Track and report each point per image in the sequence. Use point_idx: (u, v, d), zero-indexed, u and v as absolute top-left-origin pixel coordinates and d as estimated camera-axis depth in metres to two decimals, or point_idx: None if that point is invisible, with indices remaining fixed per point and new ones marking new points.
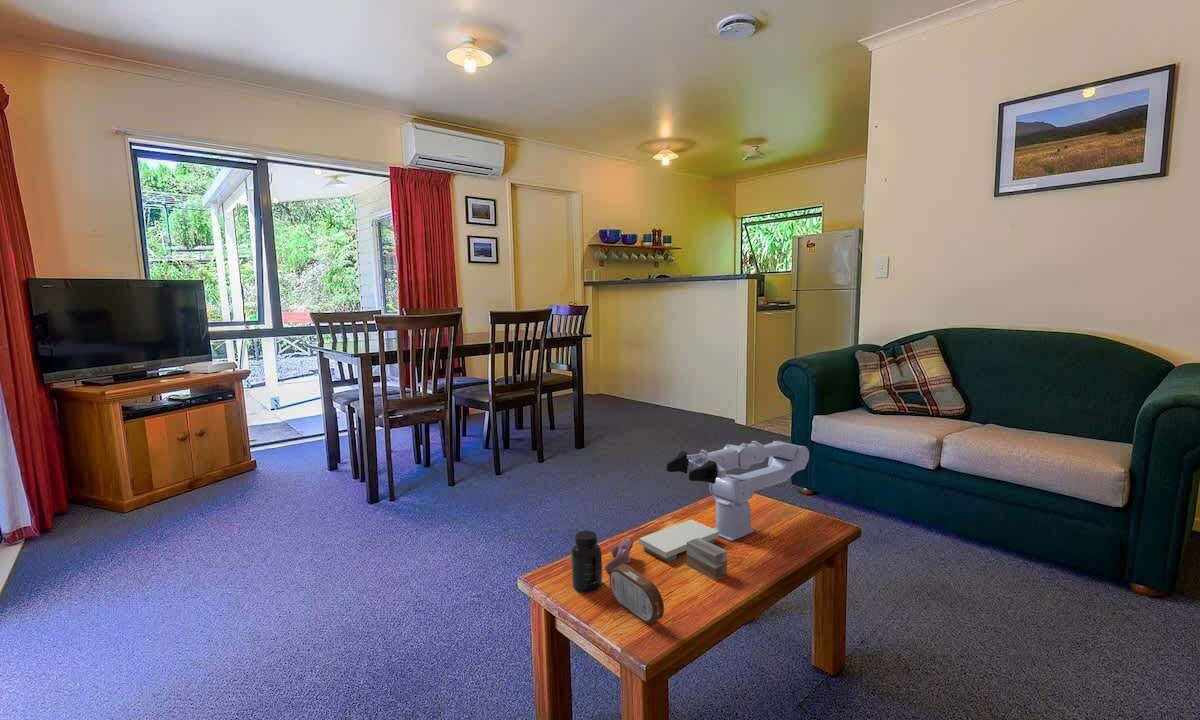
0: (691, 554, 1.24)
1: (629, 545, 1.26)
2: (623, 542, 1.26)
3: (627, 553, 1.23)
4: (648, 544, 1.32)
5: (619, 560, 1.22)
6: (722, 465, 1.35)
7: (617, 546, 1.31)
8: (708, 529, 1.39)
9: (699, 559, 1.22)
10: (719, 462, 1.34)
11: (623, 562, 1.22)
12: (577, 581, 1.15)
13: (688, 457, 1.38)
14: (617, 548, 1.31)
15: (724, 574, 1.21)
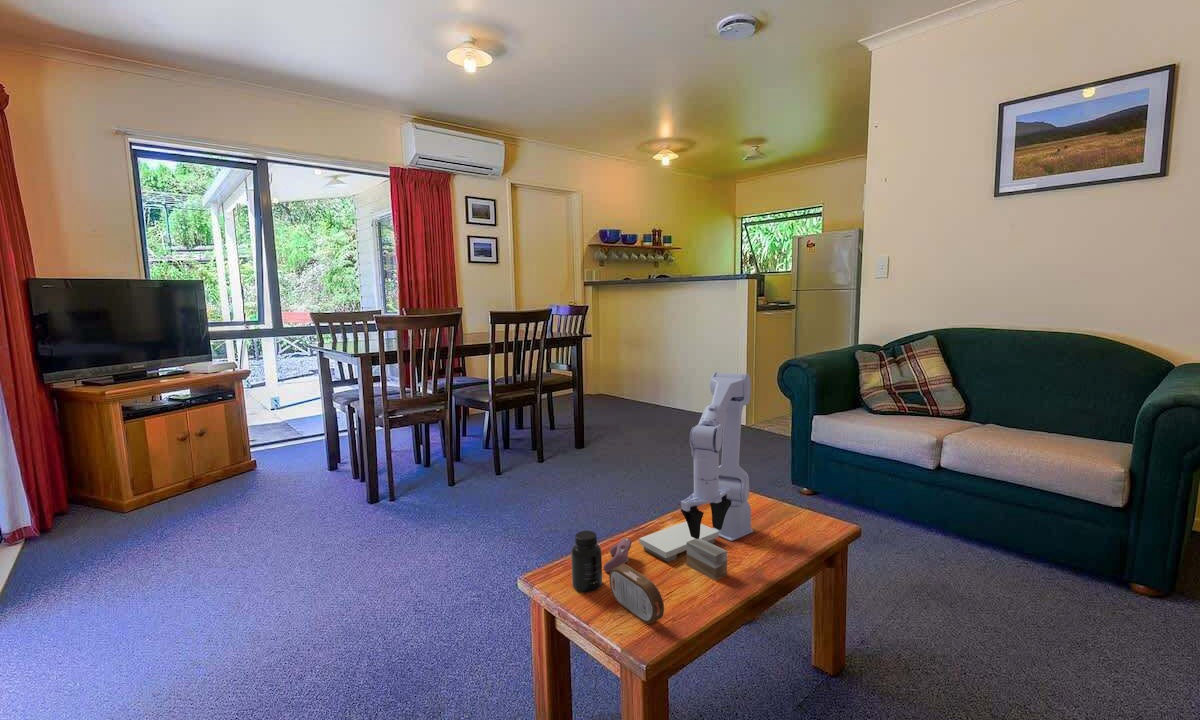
0: (691, 554, 1.24)
1: (627, 545, 1.26)
2: (621, 542, 1.27)
3: (625, 553, 1.23)
4: (648, 544, 1.32)
5: (617, 560, 1.23)
6: None
7: (616, 546, 1.31)
8: (708, 529, 1.39)
9: (699, 559, 1.22)
10: None
11: (621, 562, 1.22)
12: (577, 581, 1.15)
13: None
14: (616, 548, 1.31)
15: (724, 574, 1.21)
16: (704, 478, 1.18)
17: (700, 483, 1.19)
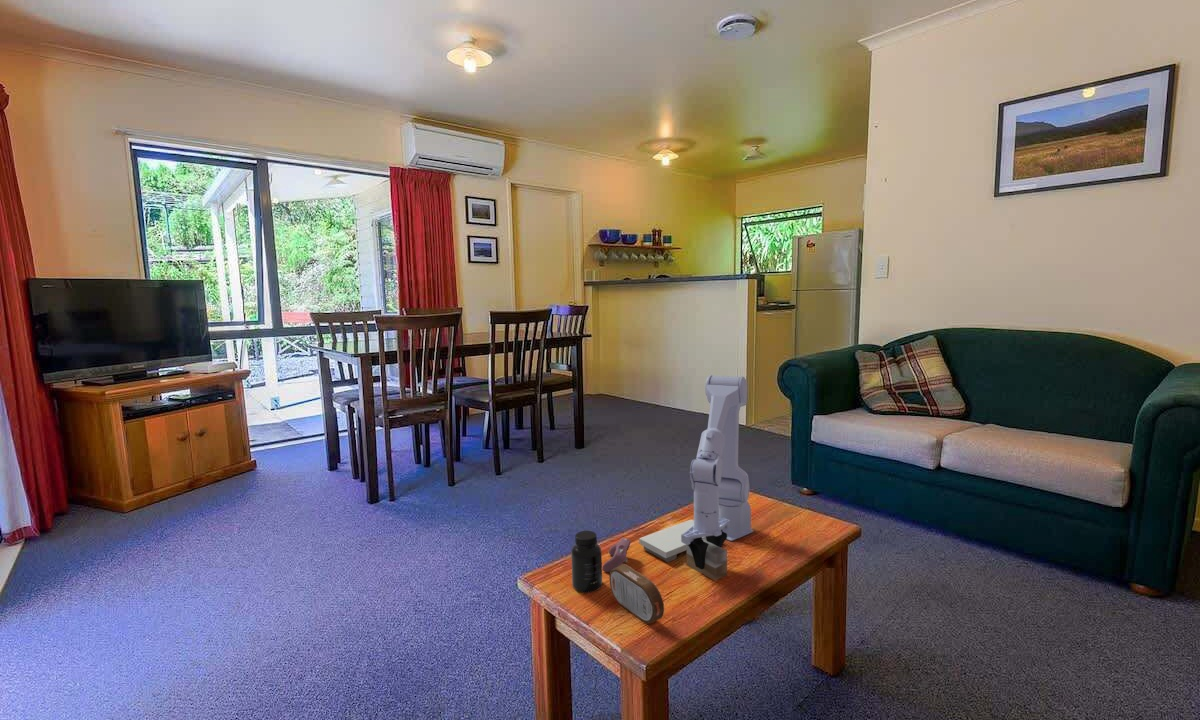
0: (691, 554, 1.24)
1: (626, 545, 1.26)
2: (620, 542, 1.27)
3: (624, 553, 1.23)
4: (648, 544, 1.32)
5: (616, 560, 1.23)
6: None
7: (614, 546, 1.31)
8: None
9: None
10: None
11: (620, 562, 1.22)
12: (577, 581, 1.15)
13: None
14: (614, 548, 1.31)
15: (724, 574, 1.20)
16: (704, 511, 1.19)
17: (700, 516, 1.20)
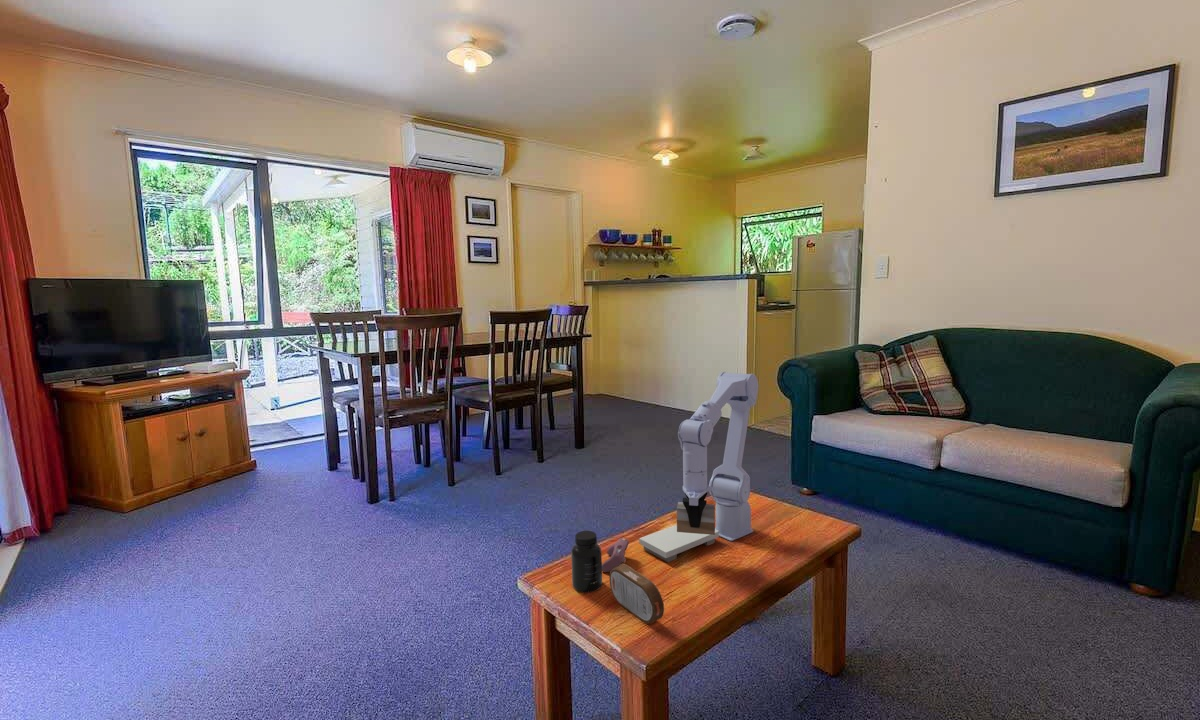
0: (683, 518, 1.26)
1: (624, 545, 1.26)
2: (618, 542, 1.27)
3: (622, 553, 1.23)
4: (648, 544, 1.32)
5: (614, 560, 1.23)
6: None
7: (613, 546, 1.31)
8: None
9: None
10: None
11: (618, 562, 1.22)
12: (577, 581, 1.15)
13: None
14: (613, 548, 1.31)
15: None
16: (690, 470, 1.24)
17: (697, 476, 1.24)
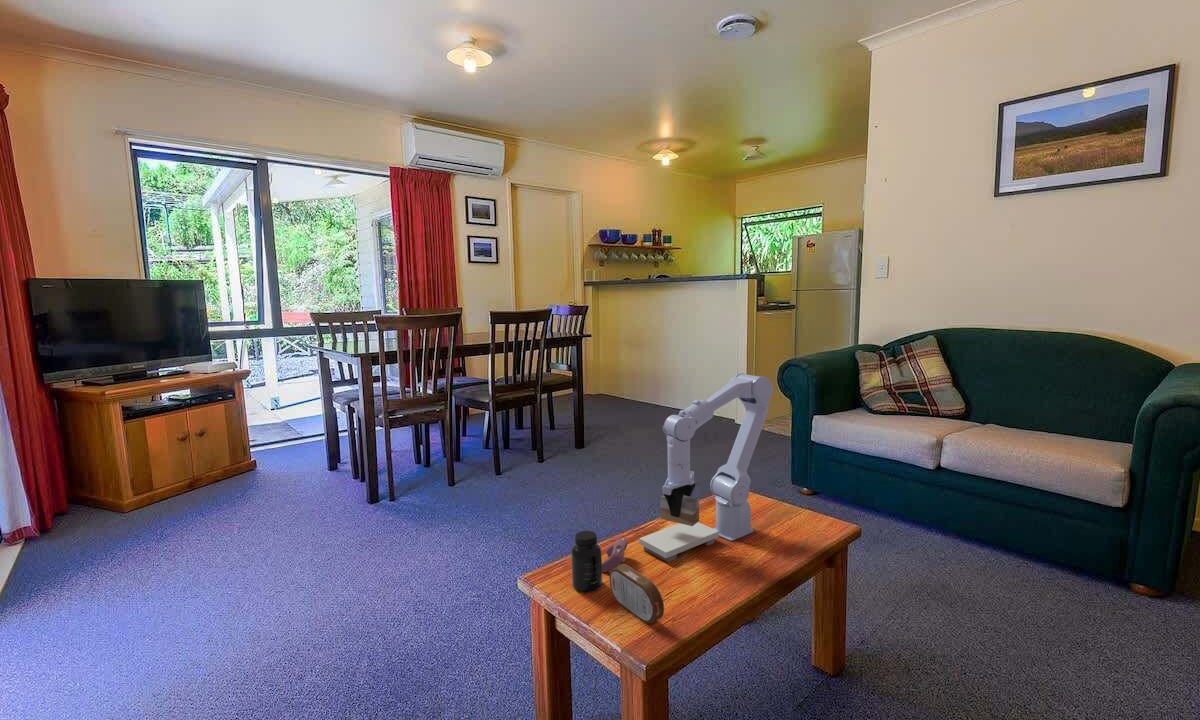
0: (666, 506, 1.35)
1: (624, 545, 1.26)
2: (618, 542, 1.27)
3: (622, 553, 1.23)
4: (648, 544, 1.32)
5: (613, 560, 1.23)
6: None
7: (612, 546, 1.31)
8: (708, 529, 1.39)
9: None
10: None
11: (617, 562, 1.22)
12: (577, 581, 1.15)
13: None
14: (612, 548, 1.31)
15: (697, 519, 1.34)
16: (670, 462, 1.32)
17: (676, 468, 1.31)
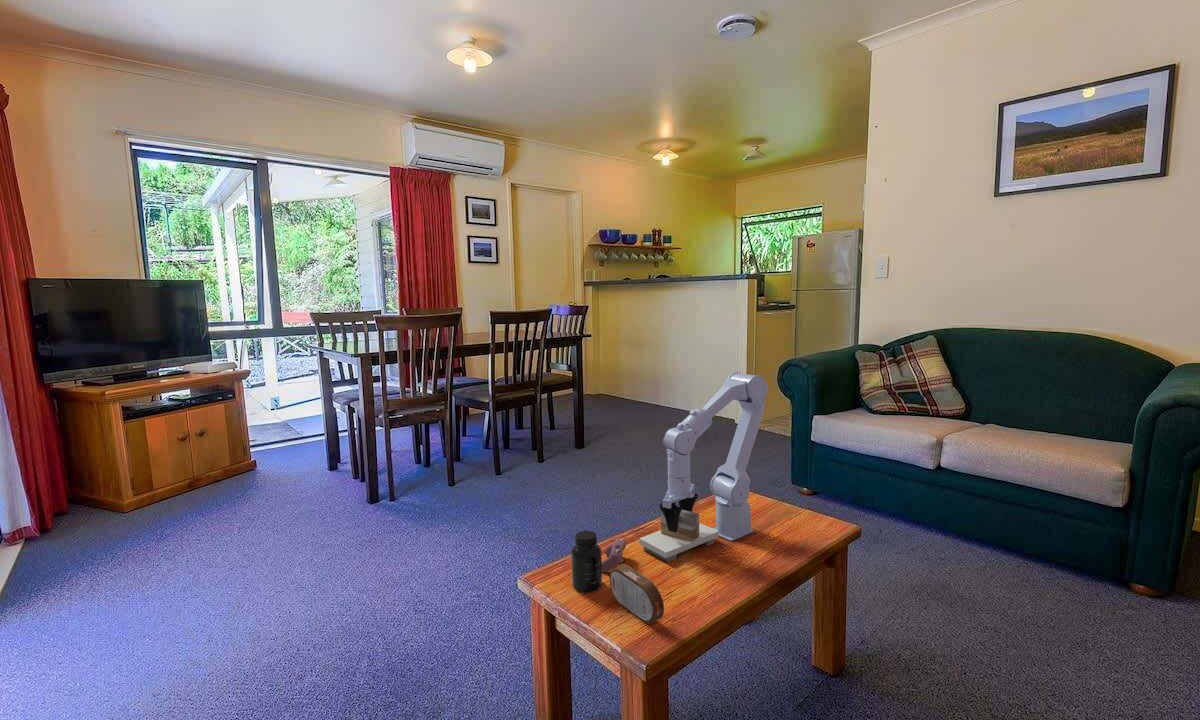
0: (666, 522, 1.36)
1: (622, 545, 1.26)
2: (616, 542, 1.27)
3: (620, 553, 1.23)
4: (648, 544, 1.32)
5: (612, 560, 1.23)
6: None
7: (610, 546, 1.31)
8: (708, 529, 1.39)
9: None
10: None
11: (616, 562, 1.23)
12: (577, 581, 1.15)
13: None
14: (610, 548, 1.31)
15: (697, 535, 1.34)
16: (670, 475, 1.33)
17: (677, 481, 1.32)
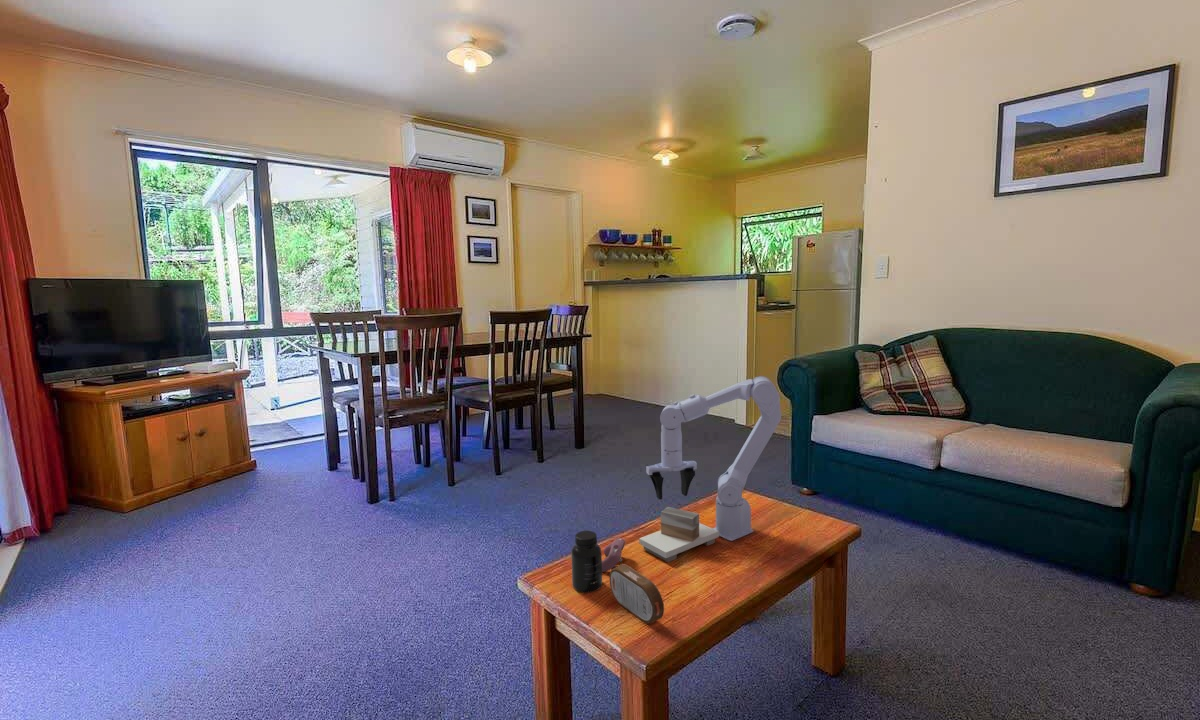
0: (666, 522, 1.36)
1: (621, 545, 1.26)
2: (615, 542, 1.27)
3: (619, 553, 1.23)
4: (648, 544, 1.32)
5: (611, 560, 1.23)
6: None
7: (609, 546, 1.31)
8: (708, 529, 1.39)
9: (675, 525, 1.34)
10: None
11: (615, 562, 1.23)
12: (577, 581, 1.15)
13: None
14: (609, 548, 1.31)
15: (697, 535, 1.34)
16: (661, 447, 1.44)
17: (663, 453, 1.43)
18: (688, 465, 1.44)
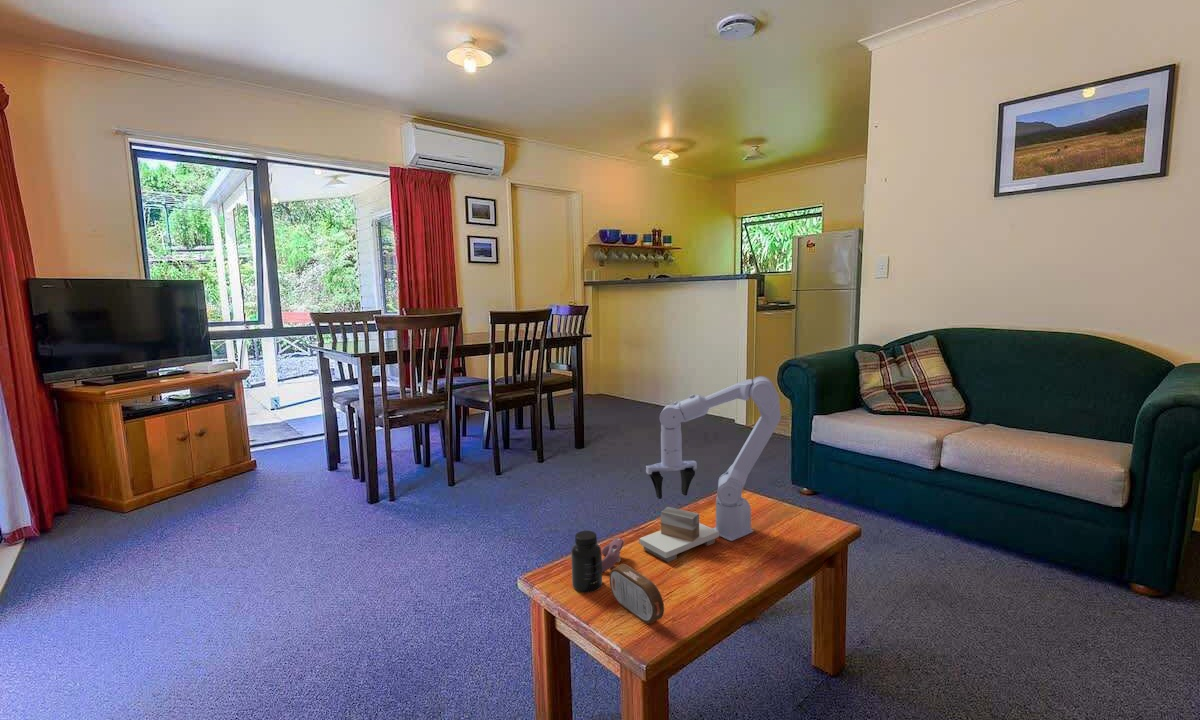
0: (666, 522, 1.36)
1: (619, 545, 1.26)
2: (613, 542, 1.27)
3: (617, 553, 1.23)
4: (648, 544, 1.32)
5: (609, 560, 1.23)
6: None
7: (608, 546, 1.31)
8: (708, 529, 1.39)
9: (675, 525, 1.34)
10: (681, 453, 1.45)
11: (613, 562, 1.23)
12: (577, 581, 1.15)
13: None
14: (608, 548, 1.31)
15: (697, 535, 1.34)
16: (661, 446, 1.45)
17: (663, 453, 1.43)
18: (688, 465, 1.45)
